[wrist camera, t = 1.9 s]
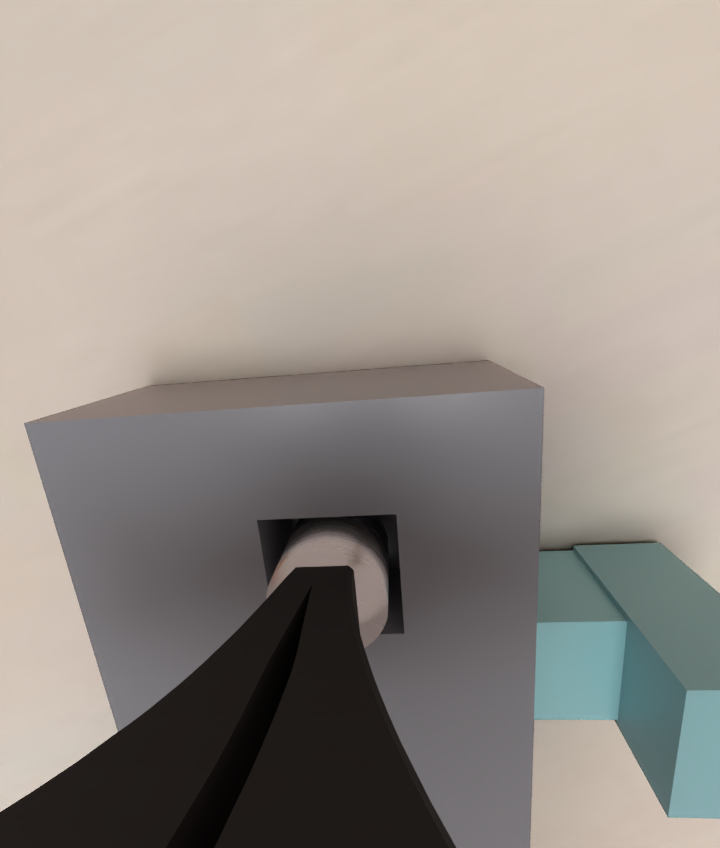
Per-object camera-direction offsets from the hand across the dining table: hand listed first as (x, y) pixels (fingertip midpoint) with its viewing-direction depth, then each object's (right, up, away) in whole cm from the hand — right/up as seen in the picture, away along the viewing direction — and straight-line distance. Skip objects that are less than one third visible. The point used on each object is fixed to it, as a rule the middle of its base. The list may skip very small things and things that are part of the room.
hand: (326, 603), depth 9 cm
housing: (0, -3, +7) cm, 8 cm away
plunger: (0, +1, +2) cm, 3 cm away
